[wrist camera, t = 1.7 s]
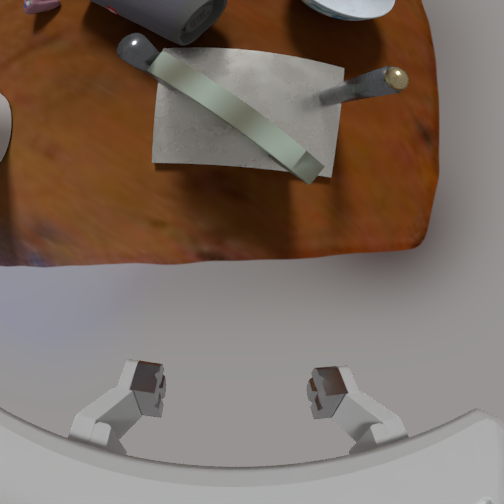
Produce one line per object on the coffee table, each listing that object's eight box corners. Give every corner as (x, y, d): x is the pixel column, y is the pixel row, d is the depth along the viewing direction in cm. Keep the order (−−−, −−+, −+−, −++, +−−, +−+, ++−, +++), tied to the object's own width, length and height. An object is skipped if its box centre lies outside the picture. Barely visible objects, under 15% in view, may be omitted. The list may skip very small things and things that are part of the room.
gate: (178, 93, 29) (146, 70, 16) (187, 81, 28) (162, 50, 16) (280, 165, 34) (309, 185, 21) (289, 153, 33) (324, 166, 21)
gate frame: (154, 161, 34) (88, 191, 17) (165, 50, 27) (113, -9, 10) (328, 176, 36) (403, 216, 19) (341, 69, 30) (422, 35, 13)
